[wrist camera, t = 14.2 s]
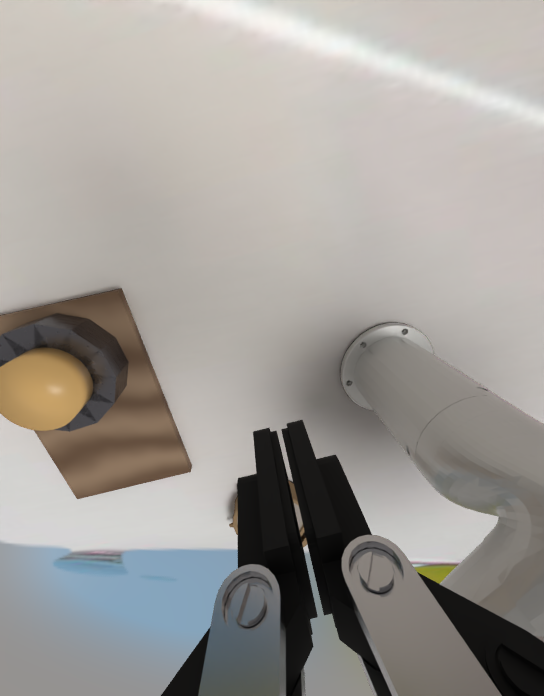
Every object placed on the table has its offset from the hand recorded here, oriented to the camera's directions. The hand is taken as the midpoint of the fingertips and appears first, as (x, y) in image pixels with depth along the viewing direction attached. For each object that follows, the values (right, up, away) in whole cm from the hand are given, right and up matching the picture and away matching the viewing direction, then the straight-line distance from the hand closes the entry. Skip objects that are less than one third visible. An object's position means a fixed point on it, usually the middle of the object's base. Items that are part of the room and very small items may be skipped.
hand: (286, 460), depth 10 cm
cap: (-23, +2, +25) cm, 34 cm away
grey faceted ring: (-23, +2, +25) cm, 34 cm away
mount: (-22, -3, +28) cm, 36 cm away
